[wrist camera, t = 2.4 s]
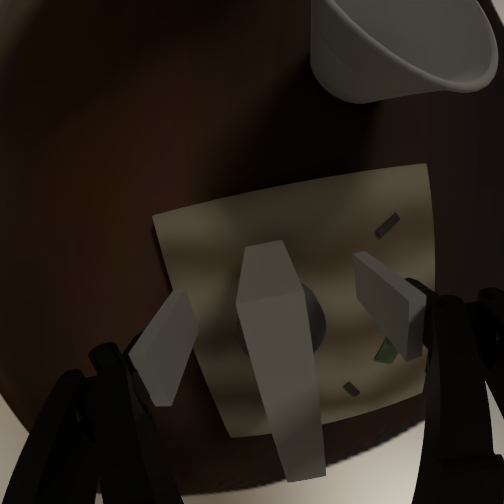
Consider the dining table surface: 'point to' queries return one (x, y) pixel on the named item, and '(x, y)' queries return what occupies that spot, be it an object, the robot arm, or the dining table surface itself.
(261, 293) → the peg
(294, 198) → the board
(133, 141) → the dining table surface
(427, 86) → the cup
